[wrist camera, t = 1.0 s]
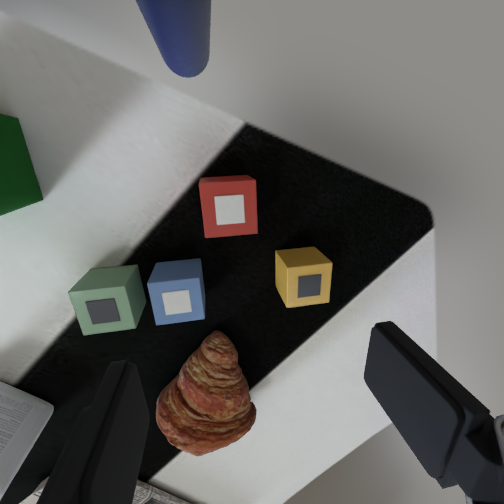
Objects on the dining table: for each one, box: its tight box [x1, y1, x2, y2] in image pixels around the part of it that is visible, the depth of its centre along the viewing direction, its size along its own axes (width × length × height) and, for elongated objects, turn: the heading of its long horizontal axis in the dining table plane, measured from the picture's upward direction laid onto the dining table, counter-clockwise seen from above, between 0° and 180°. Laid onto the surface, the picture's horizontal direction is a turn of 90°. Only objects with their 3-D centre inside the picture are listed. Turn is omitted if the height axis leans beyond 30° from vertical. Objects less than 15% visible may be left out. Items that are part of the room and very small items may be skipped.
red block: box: [199, 175, 258, 238], centre depth 25 cm, size 5×5×5 cm
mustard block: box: [276, 247, 332, 308], centre depth 30 cm, size 5×5×5 cm
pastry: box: [156, 330, 256, 456], centre depth 33 cm, size 17×15×8 cm
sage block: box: [68, 265, 146, 335], centre depth 27 cm, size 5×5×5 cm
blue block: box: [147, 258, 205, 325], centre depth 28 cm, size 5×5×5 cm
